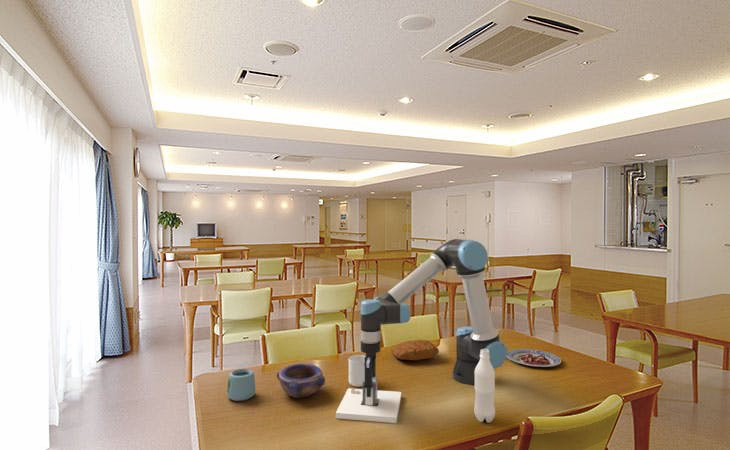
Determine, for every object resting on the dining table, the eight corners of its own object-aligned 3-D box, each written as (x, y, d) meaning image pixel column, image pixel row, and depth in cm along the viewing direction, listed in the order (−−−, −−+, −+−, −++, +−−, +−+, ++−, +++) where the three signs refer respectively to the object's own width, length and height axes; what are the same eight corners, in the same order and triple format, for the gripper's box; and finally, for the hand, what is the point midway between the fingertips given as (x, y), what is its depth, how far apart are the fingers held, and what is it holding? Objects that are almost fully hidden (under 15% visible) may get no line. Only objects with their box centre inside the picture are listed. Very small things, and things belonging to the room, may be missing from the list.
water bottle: (471, 415, 151) (471, 347, 151) (490, 414, 152) (490, 347, 152) (478, 424, 144) (478, 353, 144) (498, 424, 145) (498, 353, 144)
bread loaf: (427, 352, 224) (427, 337, 224) (440, 362, 207) (440, 346, 207) (388, 355, 219) (388, 340, 218) (399, 366, 202) (399, 350, 202)
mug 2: (370, 386, 177) (370, 361, 177) (350, 388, 175) (350, 362, 175) (365, 376, 189) (365, 352, 189) (346, 377, 187) (346, 353, 187)
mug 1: (225, 390, 174) (225, 366, 173) (252, 386, 178) (252, 363, 178) (228, 404, 160) (228, 379, 160) (257, 400, 164) (257, 375, 164)
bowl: (286, 407, 158) (286, 381, 158) (273, 390, 174) (273, 366, 174) (329, 398, 166) (329, 373, 166) (313, 382, 182) (313, 359, 182)
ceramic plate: (564, 358, 214) (564, 353, 214) (557, 374, 192) (557, 368, 192) (512, 350, 228) (512, 344, 228) (500, 364, 206) (500, 358, 206)
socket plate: (401, 396, 167) (401, 389, 167) (396, 423, 145) (396, 414, 145) (348, 393, 171) (348, 385, 171) (335, 418, 149) (335, 409, 149)
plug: (377, 399, 160) (377, 377, 160) (375, 405, 155) (375, 382, 155) (364, 398, 161) (364, 376, 161) (362, 404, 156) (362, 381, 156)
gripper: (364, 333, 167) (364, 390, 167) (356, 347, 149) (356, 411, 150) (383, 334, 166) (382, 392, 166) (376, 348, 148) (376, 412, 148)
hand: (370, 401), depth 158 cm, fingers closed on plug, 5 cm apart
